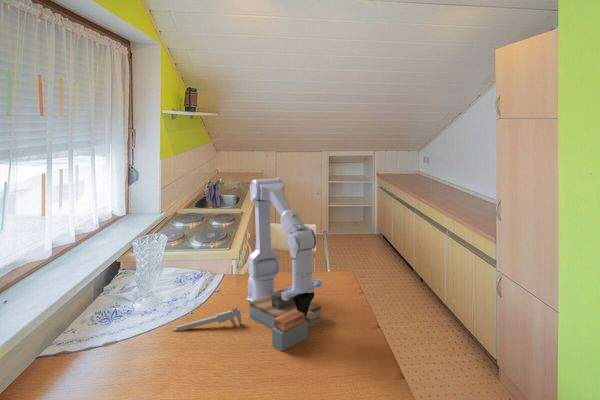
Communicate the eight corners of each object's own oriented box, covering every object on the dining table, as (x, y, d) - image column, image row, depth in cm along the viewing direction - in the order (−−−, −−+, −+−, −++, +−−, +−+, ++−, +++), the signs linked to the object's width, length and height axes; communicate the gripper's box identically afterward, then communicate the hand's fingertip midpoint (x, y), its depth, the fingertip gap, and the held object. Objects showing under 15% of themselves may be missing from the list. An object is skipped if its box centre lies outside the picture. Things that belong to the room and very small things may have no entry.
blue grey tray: (234, 323, 124) (233, 308, 123) (282, 303, 137) (282, 289, 136) (281, 351, 108) (281, 333, 107) (330, 325, 122) (330, 309, 121)
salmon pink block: (274, 326, 111) (273, 318, 110) (294, 316, 116) (294, 309, 116) (283, 331, 108) (283, 323, 107) (304, 321, 113) (304, 313, 113)
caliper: (241, 324, 124) (240, 305, 123) (241, 325, 123) (240, 306, 122) (173, 330, 120) (171, 311, 119) (172, 332, 119) (171, 312, 118)
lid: (249, 307, 127) (249, 290, 126) (282, 294, 137) (281, 278, 136) (297, 332, 112) (297, 312, 111) (330, 315, 121) (330, 297, 120)
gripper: (293, 282, 105) (294, 329, 108) (329, 268, 115) (329, 312, 118) (275, 275, 110) (276, 321, 113) (312, 262, 120) (312, 304, 123)
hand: (302, 316), depth 115 cm, fingers closed
